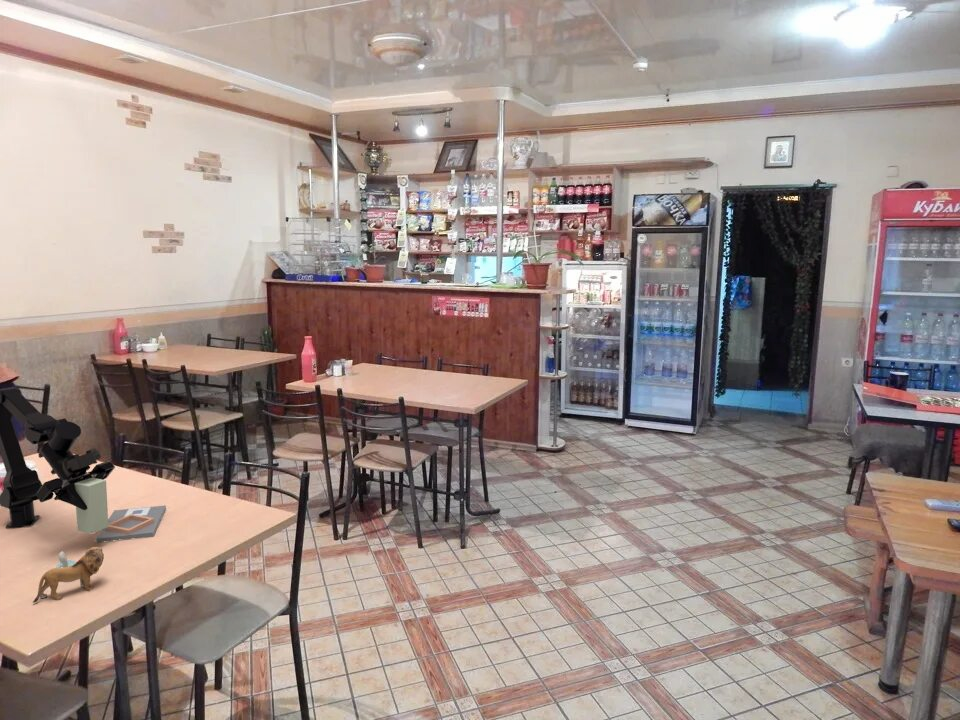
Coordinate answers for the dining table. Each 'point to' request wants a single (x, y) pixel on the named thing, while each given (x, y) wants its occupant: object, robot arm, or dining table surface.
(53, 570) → the lion figurine
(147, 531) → the baseplate
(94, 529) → the pillar
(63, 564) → the pacifier
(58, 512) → the dining table surface
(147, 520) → the collar
